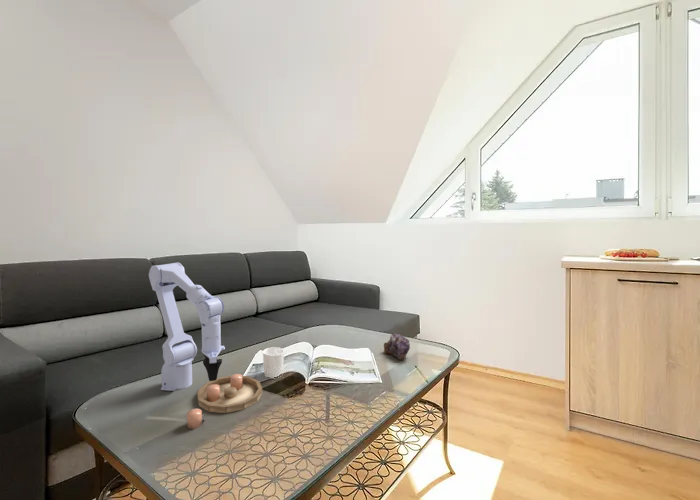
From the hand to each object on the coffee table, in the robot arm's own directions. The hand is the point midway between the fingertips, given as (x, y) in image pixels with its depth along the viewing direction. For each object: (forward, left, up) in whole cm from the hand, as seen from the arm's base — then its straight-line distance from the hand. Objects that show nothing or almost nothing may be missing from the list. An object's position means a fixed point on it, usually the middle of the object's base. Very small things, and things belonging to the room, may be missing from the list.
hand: (212, 374), depth 123 cm
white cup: (+15, +20, -10) cm, 27 cm away
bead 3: (+5, +9, -9) cm, 13 cm away
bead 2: (0, +1, -9) cm, 9 cm away
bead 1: (0, -13, -10) cm, 16 cm away
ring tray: (+5, +3, -9) cm, 11 cm away
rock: (+63, +47, -10) cm, 80 cm away
